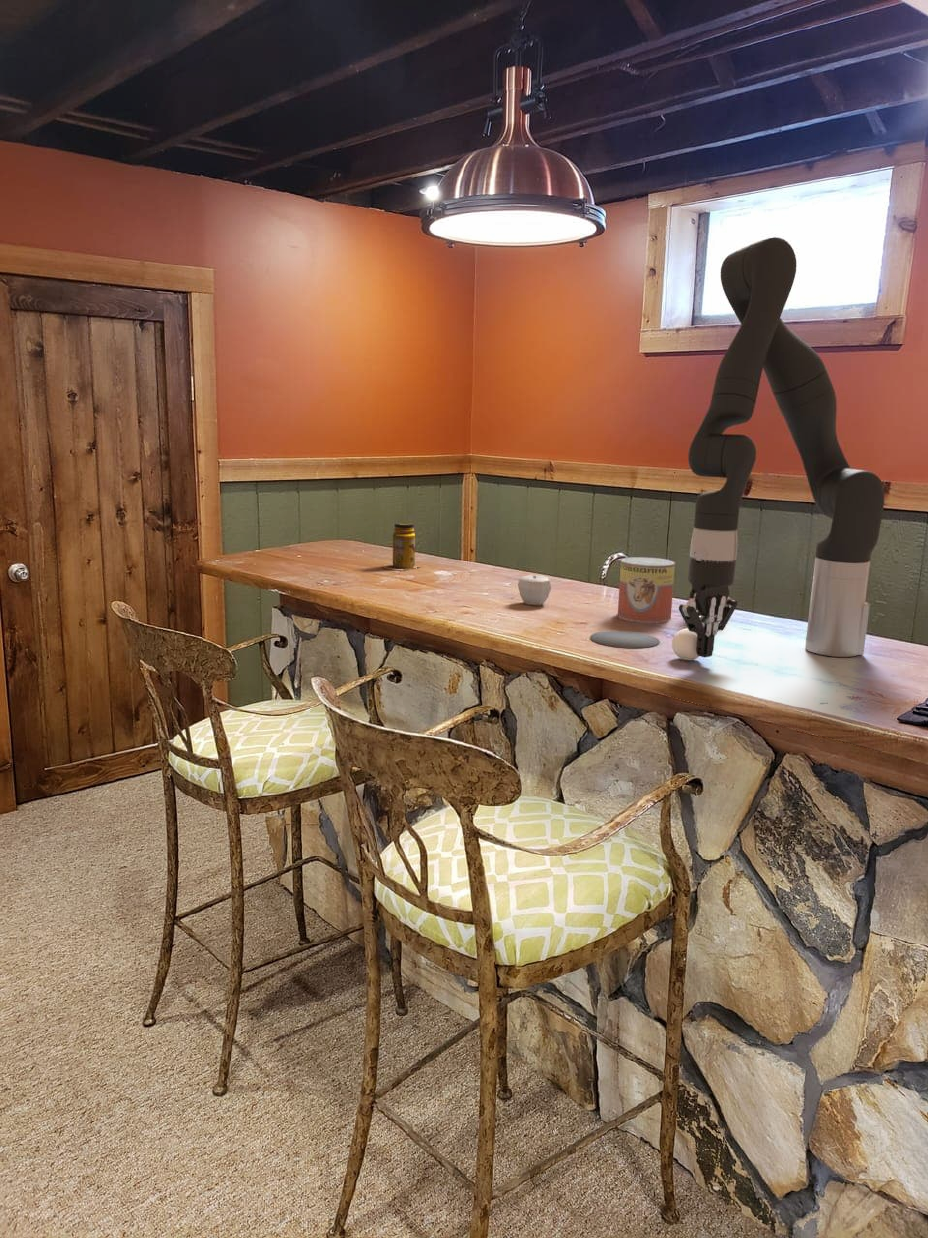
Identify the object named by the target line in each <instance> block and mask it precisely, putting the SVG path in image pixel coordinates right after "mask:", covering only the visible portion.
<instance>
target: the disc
mask: <svg viewBox="0 0 928 1238" xmlns="http://www.w3.org/2000/svg"><path fill="white" fill-rule="evenodd" d="M589 637H590V640H591V641H592V642H594V643H596V644H598V645H602V646H606V647H607V646H608V647H610V648H611V647H612V648H620V649H647V648H653V647H657V646H658V645H660V643H661V642H660V639H659V638H658V637H656V636H654V635H651V634H647V633H643V632H635V631H629V630H627V631H626V630H604V631H598V632H595V633H592V634H591V635H590V636H589Z"/></svg>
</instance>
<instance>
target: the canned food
mask: <svg viewBox="0 0 928 1238" xmlns="http://www.w3.org/2000/svg"><path fill="white" fill-rule="evenodd" d="M675 565H676V562H675V561H674V560H670V559H666V558H657V557H649V556H648V557H646V556H633V557H629V556H628V557H623V558H621V559H620V571H619V572H620V573H619V574H620V575H619V587H618V589H619V591H618V604H617V614H616V616H617V617H618V618H619V619H622V620H624V619H626V620H625V621H628V620H631V621H630V622H634V621H636V622H635V623H642V622H661V623H666V621H667V622H669V620H670V621H671V620H672V617H671V616H672V608H673V607H672V606H673V605H672V604H673V592H674V580H675V570H676V569H675V567H676V566H675Z"/></svg>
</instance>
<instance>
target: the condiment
mask: <svg viewBox="0 0 928 1238" xmlns="http://www.w3.org/2000/svg"><path fill="white" fill-rule="evenodd" d="M393 530H394V532H393V533H392V564H390V565H389V564H388V565H381V566H380V567H382V568H385V569H387V570H393V571H403V570H412V569H411V568H414V567H415V564H416V563H415V562H416V534H415V525H414V523H412V522H395V523H394V529H393Z"/></svg>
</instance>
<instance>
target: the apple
mask: <svg viewBox="0 0 928 1238" xmlns="http://www.w3.org/2000/svg"><path fill="white" fill-rule="evenodd" d="M517 587H518V591H519V595H520V598H521V599H522V601H523V603H524V604H525V605H528V606H541V605H543V604H545V602H546V601H547V600H548V598H549V596H550V593H551V591H552V590H551V589H552V585H551V581H550V579H549V577H548V576H544V575H539V574H538V575H537V574H530V575H524V576H520V577H519V579H518V582H517Z"/></svg>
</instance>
